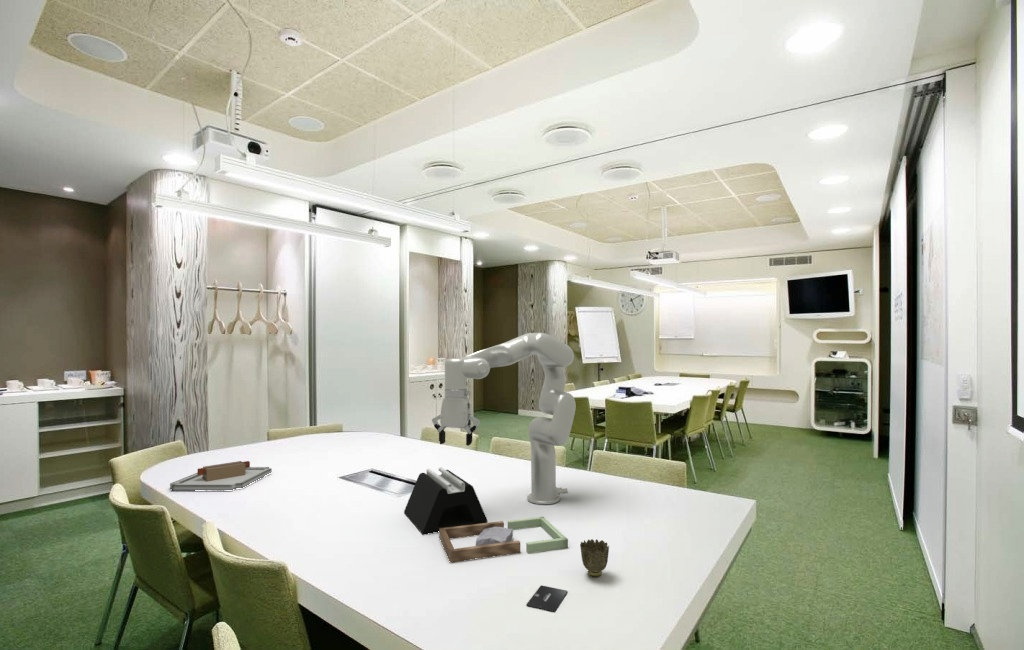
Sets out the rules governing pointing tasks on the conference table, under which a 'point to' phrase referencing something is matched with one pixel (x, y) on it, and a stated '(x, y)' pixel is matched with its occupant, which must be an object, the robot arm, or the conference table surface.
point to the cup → (594, 556)
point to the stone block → (494, 536)
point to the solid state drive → (547, 598)
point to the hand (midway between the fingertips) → (455, 444)
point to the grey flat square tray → (221, 477)
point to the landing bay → (544, 545)
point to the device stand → (443, 502)
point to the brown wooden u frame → (475, 551)
